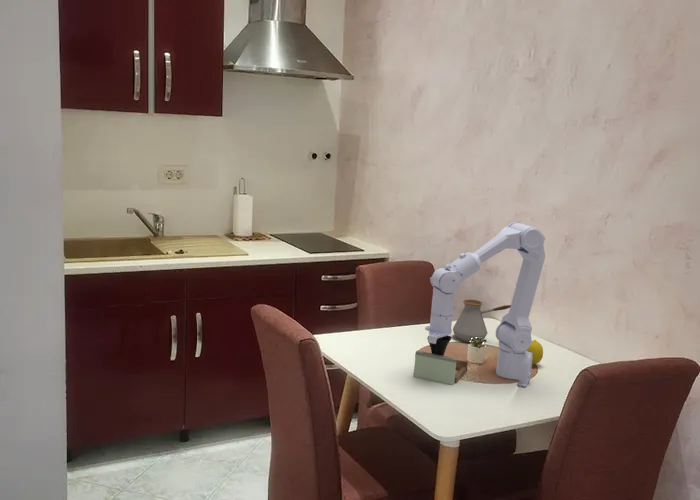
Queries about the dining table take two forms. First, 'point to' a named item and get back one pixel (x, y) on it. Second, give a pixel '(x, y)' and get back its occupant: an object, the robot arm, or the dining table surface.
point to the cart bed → (460, 369)
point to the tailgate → (435, 367)
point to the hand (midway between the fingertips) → (437, 362)
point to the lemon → (536, 351)
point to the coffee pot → (472, 321)
